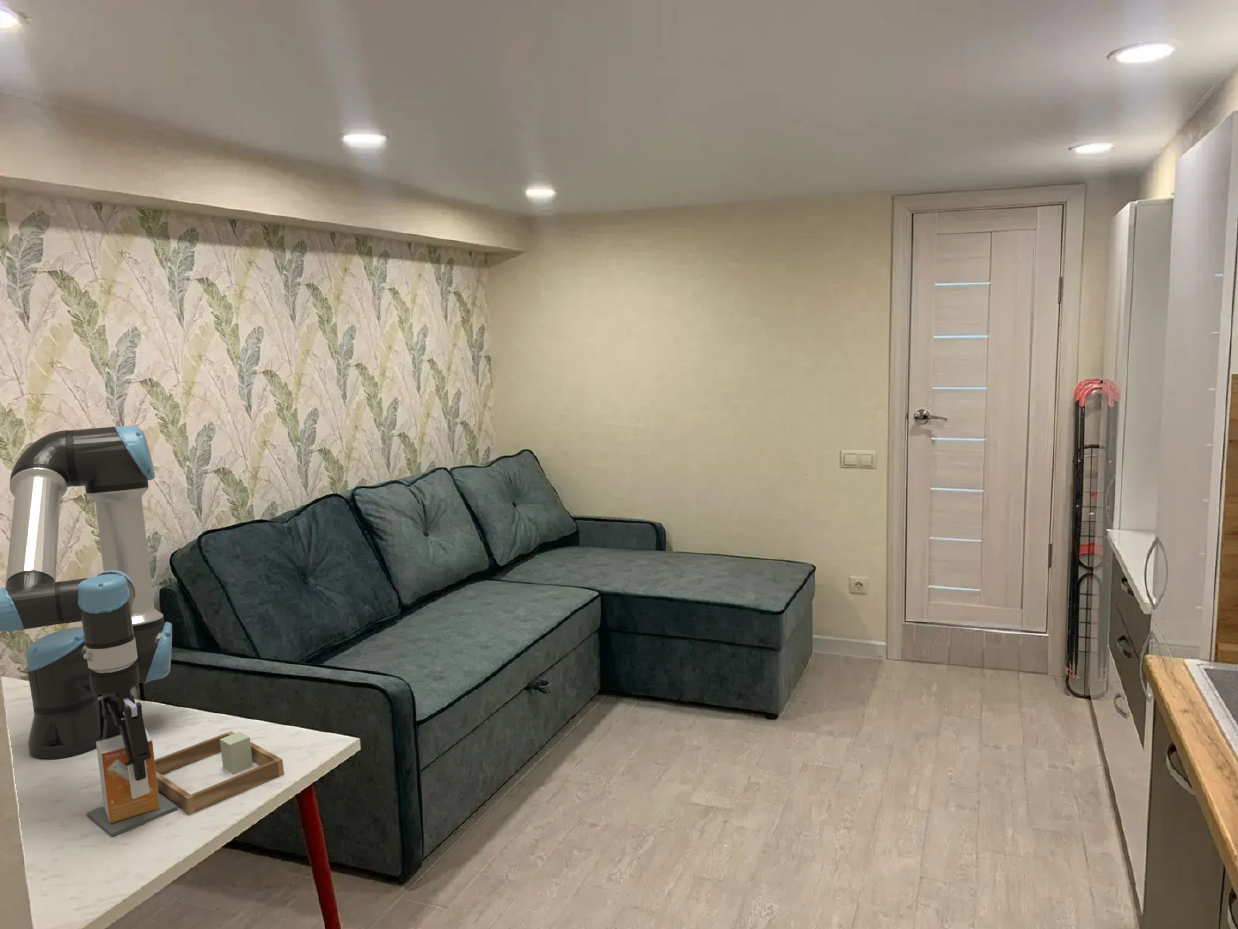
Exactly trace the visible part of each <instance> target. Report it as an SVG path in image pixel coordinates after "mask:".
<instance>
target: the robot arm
mask: <svg viewBox="0 0 1238 929" xmlns="http://www.w3.org/2000/svg"><path fill="white" fill-rule="evenodd" d="M155 478H156V473H155V468H154V464H153V458H152V455H151V452H150V448H149V444H148V441H147V439H146V435H145V433H144V431H143V430H142V429H141V428H140V427H137V426H134V425H126V426H125V425H124V426H122V425H115V426H107V427H97V428H96V427H94V428H82V429H70V430H68V429H65V430H57V431H54V432H50V433H48V434H46V435H44V436H42V437H40V438H38V439H37V440H36V441H34V442H33V443H32V444H30V445H29V446H28V447H27V448H26V449H25V450H24V452H22V453H21V454H20V456H19V457H18V458H17V460H16V462H15V464H14V466H13V468H12V471H11V473H10V477H9V491H10V493H11V495H13V497H14V500H13V508H12V510H13V511H12V518H11V527H10V529H11V530H10V535H9V536H10V538H9V547H8V548H9V549H8V556H7V566H6V567H7V568H6V576H5V577H6V578H5V587H1V588H0V633H2V632H3V633H5V632H6V633H7V632H16V631H20V632H23V631H24V630H31V629H37V628H43V627H49V626H50V627H51V626H56V625H62V624H71V623H78V622H81V624H82V625H81V626H76V627H69V628H65V629H61V630H58V631H55V632H52V633H48V634H46V635H44V636H42V637H39V638H38V639H36V640H35V641H33V642H32V643H31V644H30V645H29V646H28V648H27V649H26V654H25V656H26V657H25V658H26V659H25V660H26V667H25V668H26V669H25V670H26V671H27V674H28V681H29V688H30V693H31V694H30V695H31V701H32V707H33V708H32V709H33V718H32V722H31V728H30V732H29V735H28V736H29V737H28V739H27V740H28V741H27V744H28V752H29V755H31V757H33V758H35V759H36V758H37V759H45V760H51V759H54V760H55V759H63V758H67V757H72V756H76V755H80V754H83V753H87V752H88V751H91V750H93V749H97V747H96V742H97V741H101V740H105V739H109V738H112V737H116V736H119V735H122V739H123V742H124V745H125V748H126V752H127V755H128V758H129V761H128V762H126V763H125V765H126V766H127V767H128V775H129V782H130V790H131V797H132V799H135V798H138V797H140V796H143V795H145V794H148V793H150V792H149V784H148V776H147V769H146V761H145V760H147V759H149V758H151V754H150V750H149V745H148V740H147V736H146V731H145V729H146V728H145V723H144V717H143V710H142V709H143V708H142V707H143V706H142V703H141V702H136V701H135V698H134V695H133V694H132V691H131V690H132V689H133V688H134V687H136V686H137V685H138V684H140V683H144V684H147V683H149V682H152V681H157V680H161V679H164V678H166V677H167V676H168V675H169V674H170V671H171V662H172V648H173V647H172V644H173V623H171V622H168V621H166V622H165V620H164V614H163V613H162V612H160V611H159V610H157V609H156V608H155V604H154V593H153V585H152V577H151V576H152V575H151V567H150V560H149V550H148V541H147V540H148V539H147V532H146V526H145V524H146V523H145V515H144V508H143V505H144V504H143V496H144V495H145V493H147V491H148V490H149V487H150V486H149V481H152V480H154V479H155ZM70 487H84V489H85V495H86V496H87V497H88V498H90V499H92V500H93V502H94V503H95V510H96V511H95V512H96V518H97V519H96V520H97V527H98V536H99V544H100V551H101V552H100V553H101V560H102V561H101V562H102V570H103V571H102V572H100V573H98V574H97V575H95V576H90V577H84V578H77V579H69V580H62V581H61V580H60V581H56V578H57V561H58V560H57V559H58V547H59V546H58V545H59V525H60V509H61V507H60V505H61V499H62V498H63V496H64V495H65V494H66V492H67V488H70Z"/></svg>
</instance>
